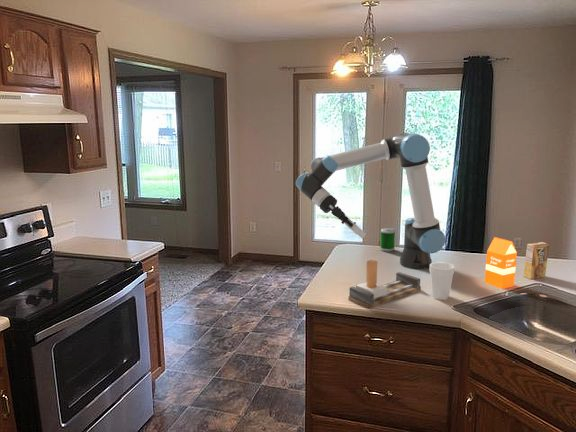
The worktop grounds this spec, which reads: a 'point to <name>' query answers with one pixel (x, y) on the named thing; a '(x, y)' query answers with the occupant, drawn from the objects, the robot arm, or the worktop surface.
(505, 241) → the orange juice
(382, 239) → the soda can
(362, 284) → the carriage
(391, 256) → the worktop surface
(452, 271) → the foam cup
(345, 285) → the worktop surface
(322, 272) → the worktop surface
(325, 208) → the robot arm
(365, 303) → the rail
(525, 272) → the candy box
